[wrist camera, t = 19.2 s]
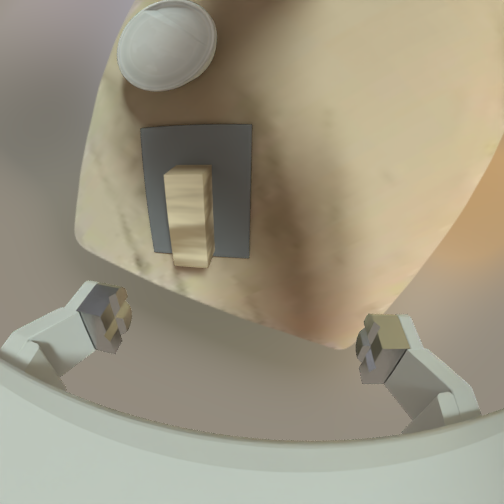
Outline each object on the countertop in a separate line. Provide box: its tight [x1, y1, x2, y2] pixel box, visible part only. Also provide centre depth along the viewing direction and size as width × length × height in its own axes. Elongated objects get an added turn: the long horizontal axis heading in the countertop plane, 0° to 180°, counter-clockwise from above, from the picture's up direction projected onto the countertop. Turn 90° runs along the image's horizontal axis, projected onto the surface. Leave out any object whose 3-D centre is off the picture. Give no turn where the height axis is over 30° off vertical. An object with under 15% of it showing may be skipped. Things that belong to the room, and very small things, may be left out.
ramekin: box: [117, 0, 217, 91], centre depth 24 cm, size 11×11×5 cm
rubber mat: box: [140, 124, 252, 258], centre depth 36 cm, size 18×14×1 cm
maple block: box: [164, 165, 215, 268], centre depth 35 cm, size 4×4×12 cm
